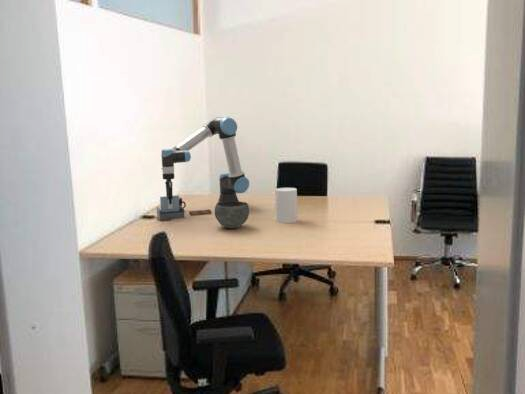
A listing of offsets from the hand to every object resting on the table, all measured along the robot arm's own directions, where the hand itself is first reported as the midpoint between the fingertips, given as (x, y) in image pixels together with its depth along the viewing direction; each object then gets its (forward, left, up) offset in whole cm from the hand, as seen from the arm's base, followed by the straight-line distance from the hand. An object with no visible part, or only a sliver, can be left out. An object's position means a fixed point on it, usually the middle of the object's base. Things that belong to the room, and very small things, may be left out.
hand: (170, 208), depth 382 cm
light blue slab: (0, 0, -4) cm, 4 cm away
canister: (-67, +38, -7) cm, 78 cm away
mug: (-8, -16, -7) cm, 19 cm away
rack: (0, 0, -6) cm, 6 cm away
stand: (-20, 0, -6) cm, 21 cm away
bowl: (-31, +42, -7) cm, 53 cm away
